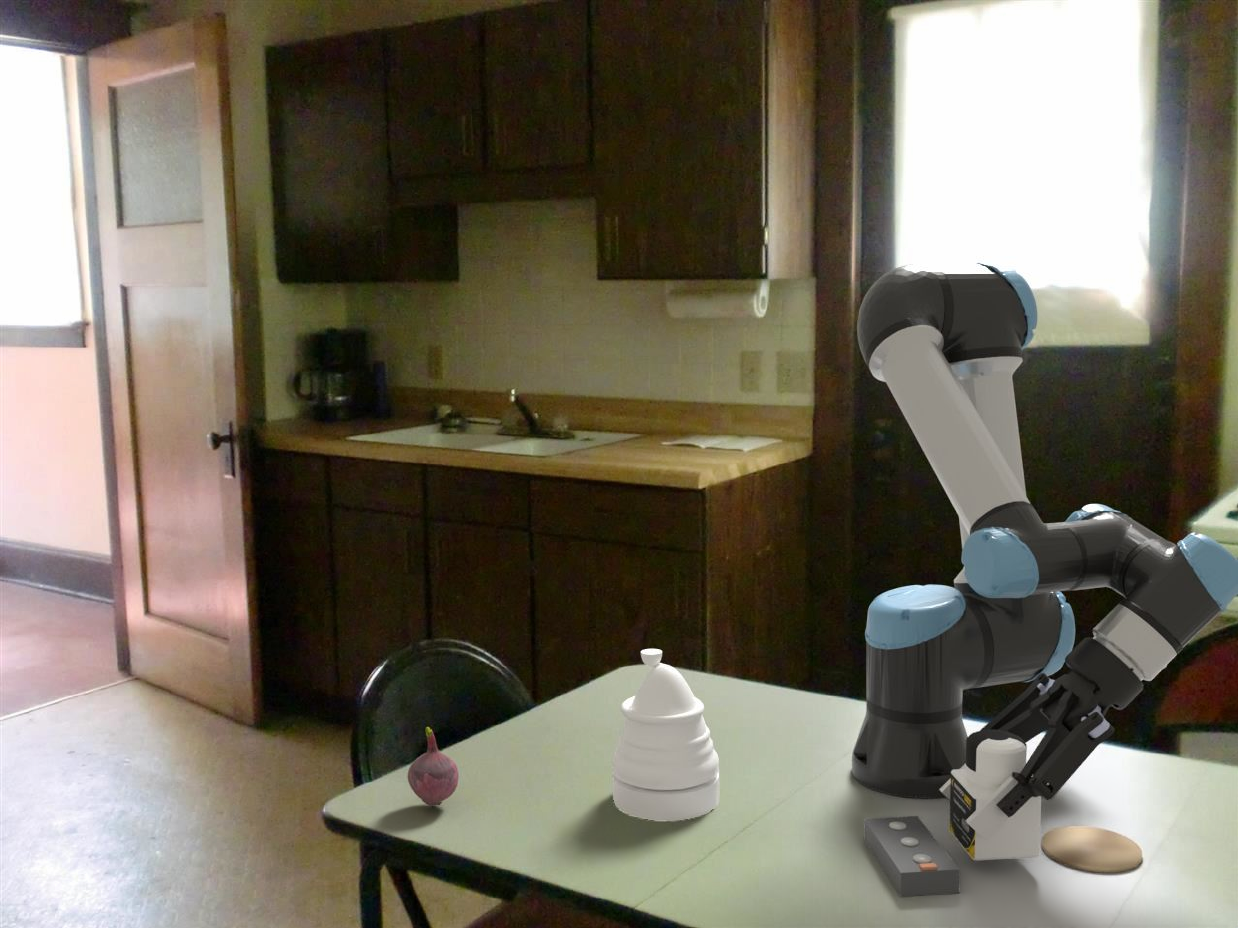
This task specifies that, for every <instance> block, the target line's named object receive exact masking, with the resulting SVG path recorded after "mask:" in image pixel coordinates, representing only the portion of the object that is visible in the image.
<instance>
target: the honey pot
mask: <svg viewBox="0 0 1238 928" xmlns="http://www.w3.org/2000/svg"><path fill="white" fill-rule="evenodd" d="M640 657H641V660H642V662H643V664H644V665H645V666H647V668H653V669H652V670H650V672H648V674H646V676H645V677H644V679H643V680H642V682H641V684H640V685H639V688H638V689H637V692H636V693H635V695H633V696H631V697H629V698H627V699H625V700H624V701H623V702H622V703H621V705H620V712H621V714H622V715H623V716H624V717H625V718H626V719H625V722H624V725H623V727H622V728H621V729H620V734H619V739H618V741H617V746H616V750H615V752H614V754H613V757H612V762H611V763H612V801H613V800H614V802H615V805H616V806H617V807H618V808H620V809H621V810H622V811H624V812H627V813H628V814H630V815H634V816H638V817H641V818H647V819H652V820H669V821H671V820H672V821H671V822H676V821H675V820H682V821H685V820H684V819H688V820H691V819H690V818H693V817H698V816H700V815H703V814H705V815H707V814H706V813H708V812H709V813H711V812H712V811H713V810H712V809H714V808H715V807H716V806H718V805H719V804H720V769H719V768H720V765H719V763H720V761H719V759H720V758H719V755H718V753H717V751H716V750H715V748H714V741H713V739H712V738H711V731H710V728H709V727H708V726H707V724H706V722H705V718H704V716H703V713H704V712H705V704H704V703H703V702H702V701H701V700H700V699H699V698H698V697H696V696H695V695H694V694H693V693H694V692H693V691H692V689H691V688H690V686H689V684H688V683H687V681H686V679H685V678H684V677H683V675H682V674H681V673H680V672H679V671H678V670H677V669H676V668H675V667H673V666H671V665H670V664H665V663H662V662H661V660H662V657H663V650H661V649H658V648H646V649H642V650H641V651H640ZM614 802H613V803H614ZM718 803H719V804H718ZM615 805H614V806H615ZM716 808H717V807H716ZM716 808H715V809H716ZM715 809H714V810H715ZM711 810H712V811H711ZM710 811H711V812H710ZM709 813H708V814H709ZM703 816H704V815H703ZM700 817H701V816H700ZM698 818H699V817H698ZM693 819H694V818H693Z"/></svg>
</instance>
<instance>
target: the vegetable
mask: <svg viewBox="0 0 1238 928" xmlns="http://www.w3.org/2000/svg"><path fill="white" fill-rule="evenodd" d="M424 735H425V736H426V737H425V738H426V741H427V750H426V752H424V753H423V754H421V755H420V756H418V757H417V758H416V759H415V760H414V761H413V762H412V764H410V766H409V768H408V770H407V781H408V784H409V786H410V788H411V790H412V791H413V792H414V794H415V795H416V796H417V797H418V798H420V800H421V802H423V803H425V805H427V806H429V807H432V806H434V807H435V806H436V807H437V806H441V805H442V804H443V801H445V800H447V799H449V798H450V797H451V796H452V795H453V794H454V793H455V791H456V790H457V787H458V783H459V769H458V767H457V764H456V762H454V760H453V759H451V757H449V756H447V755H446V754H444V753H442V752H441V750H439V749H438V744H437V740H436V737H435V735H434V732H433V730H432V728H430V727H429V726H426V727H425V734H424Z"/></svg>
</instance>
